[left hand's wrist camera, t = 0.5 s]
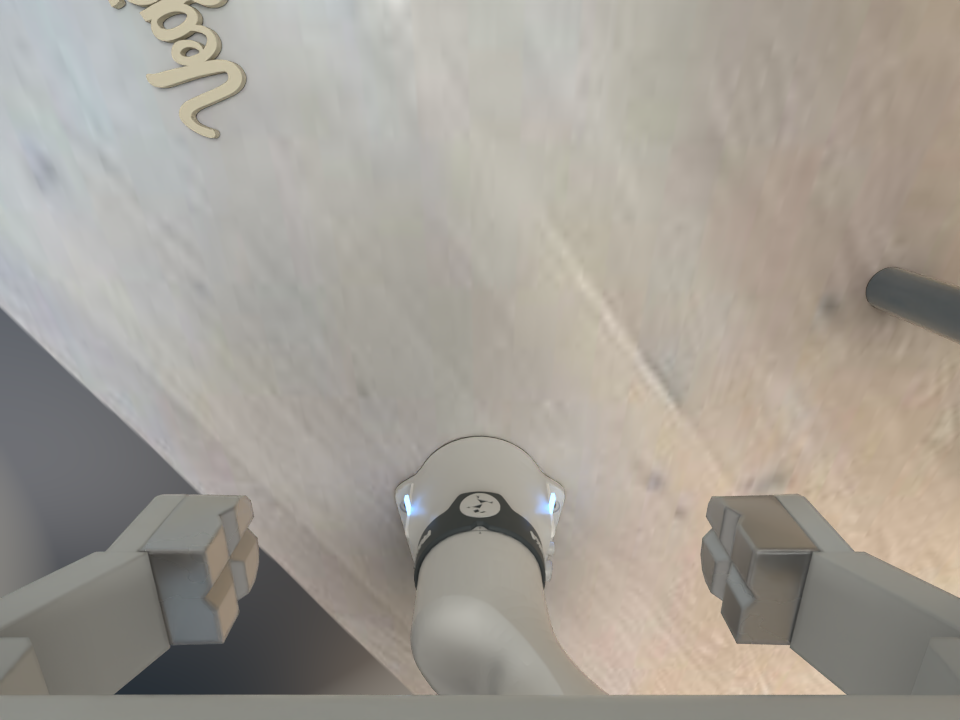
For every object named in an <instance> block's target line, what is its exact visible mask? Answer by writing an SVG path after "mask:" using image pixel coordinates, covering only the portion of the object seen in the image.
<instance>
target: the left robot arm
mask: <svg viewBox="0 0 960 720" xmlns="http://www.w3.org/2000/svg"><path fill="white" fill-rule="evenodd" d="M395 500H396V504H397V507H398V511H399V514H400V517H401V521H402V524H403V528H404V531H405V535H406V538H407V541H408V545H409V548H410V552H411V555H412V559H413V562H414V569H415V571H414V581H415V587H416V590H417V591H416V598H415V605H414V613H413V620H412V627H411V635H410V641H411V649H412V653H413V656H414V660H415V662H416V664H417V666H418V668H419V670H420V671H421V673H422V675H423V676H424V678H425V679H426V681H427V682H428V683H429V685H430V686H431V687H432V688H433V690H434V691H435V692H436V693H437V694H438V695H113V694H115V693H116V692H117V691H118V690H120V689H121V688H122V687H123V686H124V685H125V684H127V683H128V682H129V681H130V680H132V679H133V678H134V677H135V676H136V675H138V674H139V673H140V672H141V671H143V670H144V669H145V668H146V667H147V666H149V665H150V664H151V663H152V662H153V661H155V660H156V659H157V658H158V657H160V656H161V655H162V654H163V653H164V652H166V651H167V650H168V649H169V648H170V645H189V644H223V643H224V641H225V639H226V637H227V635H228V633H229V631H230V629H231V627H232V625H233V623H234V622H235V620H236V618H237V616H238V614H239V608H238V602H237V601H238V600H239V599H241V598H242V597H244V596H245V595H247V594H248V593H249V592H250V590H251V588H252V586H253V584H254V581H255V579H256V574H257V570H258V565H259V545H258V538H257V537H256V536H255V535H254V534H253V533H252V532H251V531H250V530H249V529H248V526H249V524H250V523H251V521H252V519H253V517H254V514H253V509H252V504H251V500H250V499H249V498H248V497H247V496H242V495H193V494H192V495H188V494H163V495H159V496H156V497H155V498H154V499H153V500H152V501H151V502H150V503H149V504H148V505H147V507H146V508H145V509H144V510H143V511H142V512H141V513H140V514H139V515H138V516H137V517H136V519H135V520H134V521H133V522H132V523H131V524H130V525H129V526H128V527H127V528H126V530H125V531H124V532H123V533H122V534H121V535H120V536H119V537H118V538H117V539H116V540H115V542H114V543H113V544H112V545H111V546H110V547H109V548H108V549H107V550H106V551H105V552H94V553H92V554H90V555H88V556H86V557H84V558H82V559H80V560H78V561H76V562H74V563H72V564H70V565H68V566H66V567H63V568H61V569H59V570H57V571H55V572H53V573H51V574H49V575H47V576H45V577H43V578H41V579H39V580H37V581H35V582H33V583H30V584H28V585H26V586H24V587H22V588H20V589H18V590H16V591H14V592H12V593H10V594H8V595H6V596H4V597H1V598H0V720H960V598H958V597H956V596H954V595H952V594H950V593H948V592H946V591H944V590H942V589H940V588H938V587H936V586H934V585H932V584H929V583H927V582H925V581H923V580H921V579H919V578H917V577H915V576H913V575H911V574H909V573H907V572H905V571H903V570H901V569H899V568H897V567H894V566H892V565H890V564H888V563H886V562H884V561H882V560H880V559H878V558H876V557H874V556H872V555H870V554H868V553H866V552H855V551H854V550H853V549H852V548H851V547H850V546H849V545H848V544H847V543H846V542H845V540H844V539H843V538H842V537H841V536H840V535H839V534H838V533H837V532H836V531H835V529H834V528H833V527H832V526H831V525H830V524H829V523H828V522H827V521H826V520H825V519H824V517H823V516H822V515H821V514H820V513H819V512H818V511H817V510H816V509H815V508H814V506H813V505H812V504H811V503H810V502H809V501H808V500H807V499H806V498H805V497H804V496H801V495H799V494H781V495H759V496H712V497H711V499H710V501H709V503H708V508H707V513H706V517H707V519H708V521H709V523H710V524H711V526H712V529H711V530H710V531H709V532H708V533H707V534H706V535H705V536H704V537H703V538H702V547H701V564H702V571H703V575H704V578H705V582H706V584H707V586H708V588H709V590H710V592H711V593H712V594H713V595H715V596H716V597H718V598H719V599H721V600H722V601H723V602H722V608H721V614H722V616H723V618H724V620H725V622H726V623H727V625H728V627H729V629H730V631H731V633H732V635H733V637H734V639H735V641H736V643H737V644H771V645H790V648H791V649H792V650H793V651H795V652H796V653H797V654H798V655H799V656H801V657H802V658H803V659H804V660H806V661H807V662H808V663H809V664H810V665H812V666H813V667H814V668H815V669H816V670H818V671H819V672H820V673H821V674H822V675H824V676H825V677H826V678H827V679H829V680H830V681H831V682H832V683H833V684H835V685H836V686H837V687H838V688H839V689H841V690H842V691H843V692H844V693H845V694H847V695H609V694H608V693H606V692H605V691H603V690H602V689H601V688H600V687H599V686H597V685H596V684H595V683H594V682H593V681H592V680H590V679H589V678H588V677H587V676H586V675H585V674H584V673H583V672H582V671H581V670H580V669H579V668H578V666H577V665H576V664H575V663H574V662H573V661H572V660H571V659H570V657H569V656H568V655H567V654H566V652H565V651H564V650H563V648H562V647H561V645H560V644H559V642H558V640H557V638H556V636H555V634H554V632H553V629H552V625H551V622H550V618H549V614H548V610H547V606H546V601H545V596H544V587H545V582H548V581H550V580H551V576H552V561H550V560H548V555H553V554H554V550H555V543H554V542H553V538H554V535H555V531H556V528H557V524H558V521H559V517H560V514H561V511H562V507H563V504H564V500H565V491H564V488H563V487H562V486H561V485H560V484H559V483H557V482H556V481H554V480H553V479H551V478H549V477H547V476H545V475H544V474H543V473H542V471H541V470H540V469H539V467H538V466H537V465H536V463H535V462H534V461H533V459H532V458H531V457H530V456H529V455H528V454H527V453H525V452H524V451H523V450H522V449H520V448H519V447H517V446H515V445H513V444H511V443H509V442H506V441H504V440H500V439H496V438H491V437H469V438H464V439H460V440H456V441H454V442H451V443H449V444H447V445H445V446H443V447H441V448H440V449H438V450H437V451H436V452H435V453H433V454H432V455H431V456H430V457H429V458H428V460H427V461H426V462H425V463H424V465H423V466H422V468H421V469H420V470H419V471H418V473H417V474H416V475H415V476H413V477H411V478H409V479H407V480H406V481H404V482H403V483H401V484H400V485H399V486H398V487H397V488H396V491H395ZM554 503H555V504H554Z"/></svg>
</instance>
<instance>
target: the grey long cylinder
mask: <svg viewBox="0 0 960 720" xmlns="http://www.w3.org/2000/svg"><path fill="white" fill-rule="evenodd" d="M866 297H867V300H868V302H869V303H870V304H871V305H872V306H873V307H875V308H877V309H879V310H881V311H884V312H886V313H888V314H891V315H893V316H895V317H898V318H900V319H902V320H904V321H907V322H909V323H911V324H914V325H916V326H918V327H921V328H923V329H925V330H928V331H930V332H932V333H935V334H937V335H939V336H941V337H944V338H946V339H948V340H951V341H953V342H955V343H958V344H960V287H959V286H956V285H952V284H949V283H946V282H943V281H940V280H936V279H933V278H930V277H927V276H924V275H920V274H917V273H914V272H911V271H908V270H904V269H901V268H897V267H890V268H886V269H883V270H881V271H879V272H878V273H877V274H875V275H874V276H873V277H872V279H871V280H870V282H869V283H868V286H867V289H866Z"/></svg>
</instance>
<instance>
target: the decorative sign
mask: <svg viewBox="0 0 960 720" xmlns="http://www.w3.org/2000/svg"><path fill="white" fill-rule="evenodd" d="M108 1H109V2H110V4H111V6H112V7H114V8H117V9H120V8H122V7H123V6H124V5H125V4H126V3H125V1H124V0H108ZM128 1H129V2H131V3H133V4H136V5H138V6H141V7H148V8H146V9H145V10H143V11H141V12H140V14H141V16H142V17H143V18H144V20H145V21H146V22H149V23H151V29H152V32H153V34H154V35H155V36H156V37H157V38H158V39H159V40H162V41H165V42H169V43H173V42H176V43H174V45H173V47H172V52H171V53H172V57H173V59H174V61H176V62H177V63H179V64H181V65H185V67H180V68H176V69H172V70H168V71H164V72H160V73H156V74H147V75H146V77H147V80H148V82H149V83H150V84H151V85H153V86H155V87H160V88H170V87H174V86H177V85H180V84H183V83H186V82H189V81H192V80H195V79H199V78H202V77H206V76H211V75H216V74H221V73H226V72H227V73H228V80H227V81H226V82H225V83H224V84H222V85H221V86H219V87H217V88H215V89H213V90H210V91H208V92H206V93H203V94H201V95H199V96H197V97H194V98H192V99H190V100H188V101H186V102H185V103H184V104H183V105H182V106H181V108H180V110H179V116H180V119H181V121H182V122H183V123H184V124H185V125H186V126H187V127H189V128H190V129H191V130H193V131H194V132H196V133H198V134H200V135H203V136H205V137H209V138H218V137H219V135H220V133H219V131H218V130H215V129H212V128H209V127H207V126H204V125H202V124H201V123H200V122H199V121H198V120H197V119H196V114H197V113H198V112H199V111H200V110H202V109H204V108H206V107H208V106H211V105H213V104H216V103H218V102H220V101H222V100H225V99H227V98H229V97H231V96H233V95H235V94H237V93H238V92H240V91H241V90H242V89H243V87H244V85H245V83H246V75H245V72H244V71H243V69H242V68H241V67H240V66H239V65H238V64H236V63H234V62H230V61H227V60H214V59H215V58H216V57H217V56H218V54H219V53H220V51H221V47H222V46H221V41H220V38H219V36H218V35H217V33H216V32H214V31H213V30H211V29H209V28H207V27H204V26H201V25H202V23H203V18H202V15H201V14H200V12H199V11H198V10H197V9H195V8H193V7H191V6H189V5H190V4H192V3H199V4H201V5H203V6H205V7H210V8H218V7H221V6H223V5H225V4H226V2H227V1H228V0H128ZM176 14H186V15H187V18H186V20H185V21H184V22H183V23H182V24H180V25H179V26H177V27H175V28H172V29H165V28H164V26H163V22H164V21H165V20H166V19H167V18H169V17H171V16H173V15H176ZM196 32H198V33H203V34H204V35H206V37H207V43H206V46H204V45H203V44H201V43H198V42H195V41H192V40H184V39H186V38H188V37H190V36H191V35H193V34H194V33H196ZM190 49H197V50H199V53H198V54H196V55H193V56H190V57H187V56H186V55H185V54H186V52H187V51H188V50H190Z"/></svg>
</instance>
